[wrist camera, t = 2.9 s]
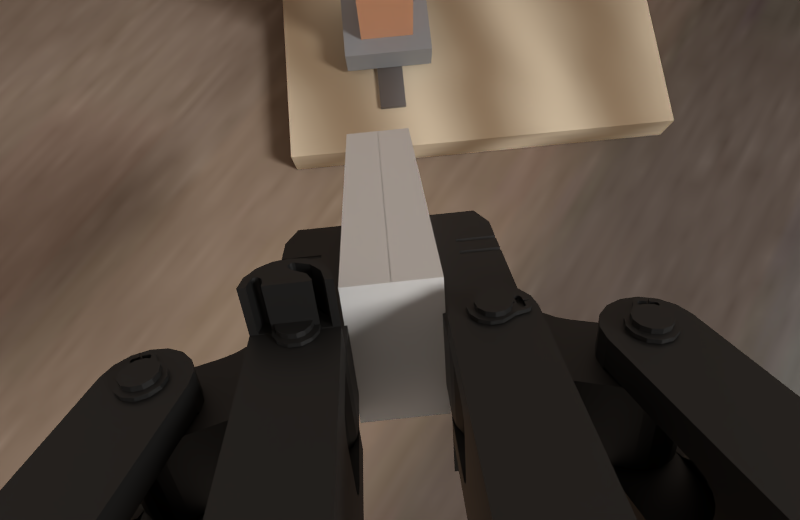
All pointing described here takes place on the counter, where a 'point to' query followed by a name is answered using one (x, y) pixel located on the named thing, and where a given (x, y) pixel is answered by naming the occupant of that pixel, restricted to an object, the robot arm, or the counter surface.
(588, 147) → the counter surface
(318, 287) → the robot arm
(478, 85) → the trammel board
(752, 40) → the counter surface
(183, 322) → the counter surface
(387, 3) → the orange lever on base
